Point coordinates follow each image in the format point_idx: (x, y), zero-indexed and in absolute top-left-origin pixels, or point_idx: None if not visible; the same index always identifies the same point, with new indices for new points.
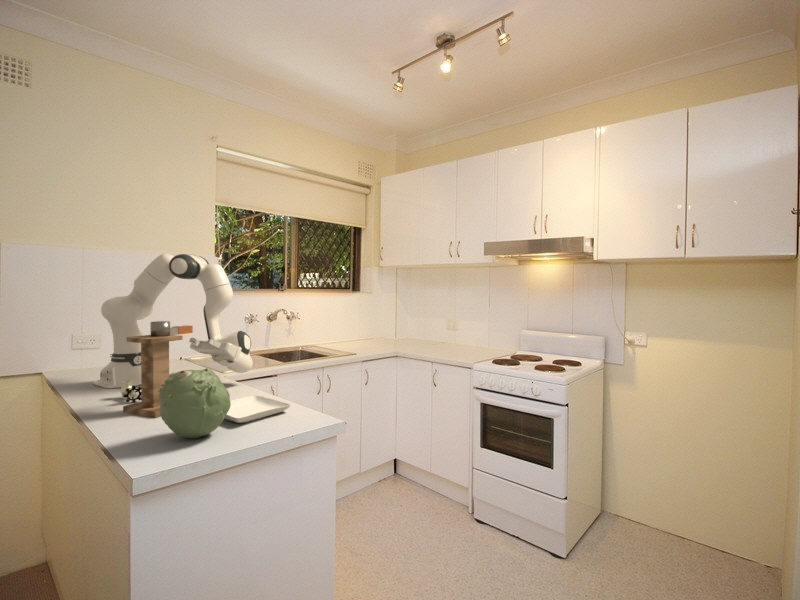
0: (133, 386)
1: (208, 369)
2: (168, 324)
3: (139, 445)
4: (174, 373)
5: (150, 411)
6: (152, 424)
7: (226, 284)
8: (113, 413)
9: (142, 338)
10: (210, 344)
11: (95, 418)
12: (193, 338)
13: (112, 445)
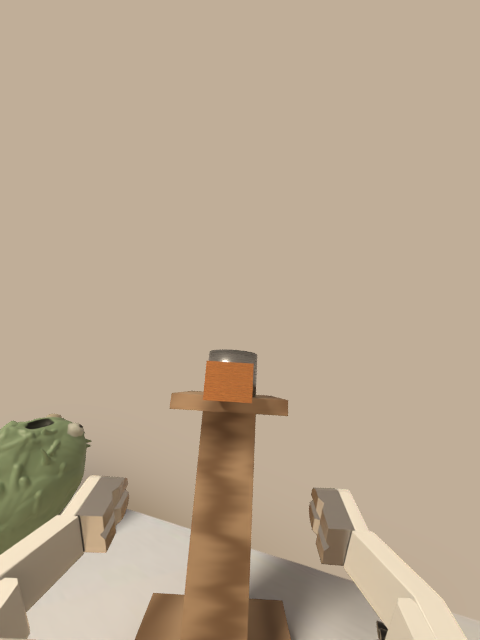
0: (380, 631)
1: (9, 422)
2: (209, 358)
3: None
4: (73, 423)
5: (172, 595)
6: (127, 580)
7: None
8: (289, 605)
9: None
10: (92, 539)
11: (279, 570)
12: (314, 492)
13: (133, 515)
